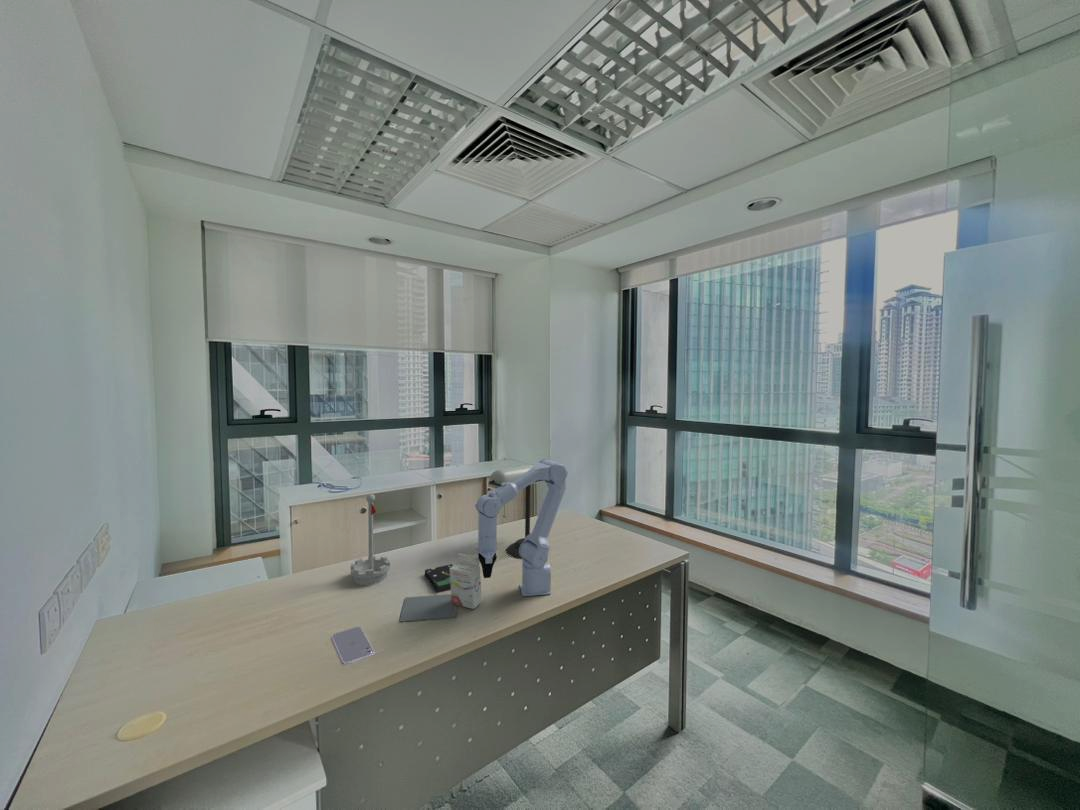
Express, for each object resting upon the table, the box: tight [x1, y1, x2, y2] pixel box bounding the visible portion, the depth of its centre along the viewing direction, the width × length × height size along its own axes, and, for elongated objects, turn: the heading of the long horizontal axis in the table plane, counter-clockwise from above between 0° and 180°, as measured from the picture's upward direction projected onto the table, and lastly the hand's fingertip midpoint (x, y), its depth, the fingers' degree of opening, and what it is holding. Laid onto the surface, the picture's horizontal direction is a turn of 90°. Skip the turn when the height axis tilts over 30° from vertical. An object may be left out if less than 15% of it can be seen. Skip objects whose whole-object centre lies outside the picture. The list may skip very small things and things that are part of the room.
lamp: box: [487, 464, 545, 559], centre depth 179 cm, size 26×24×34 cm
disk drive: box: [424, 563, 454, 593], centre depth 150 cm, size 10×3×15 cm
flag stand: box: [350, 493, 391, 586], centre depth 150 cm, size 13×13×30 cm
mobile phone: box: [331, 626, 375, 664], centre depth 112 cm, size 8×1×15 cm
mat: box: [399, 593, 457, 623], centre depth 131 cm, size 16×14×1 cm
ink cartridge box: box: [450, 552, 483, 610], centre depth 133 cm, size 9×5×15 cm, turn 65°
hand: (486, 576), depth 134 cm, fingers closed
